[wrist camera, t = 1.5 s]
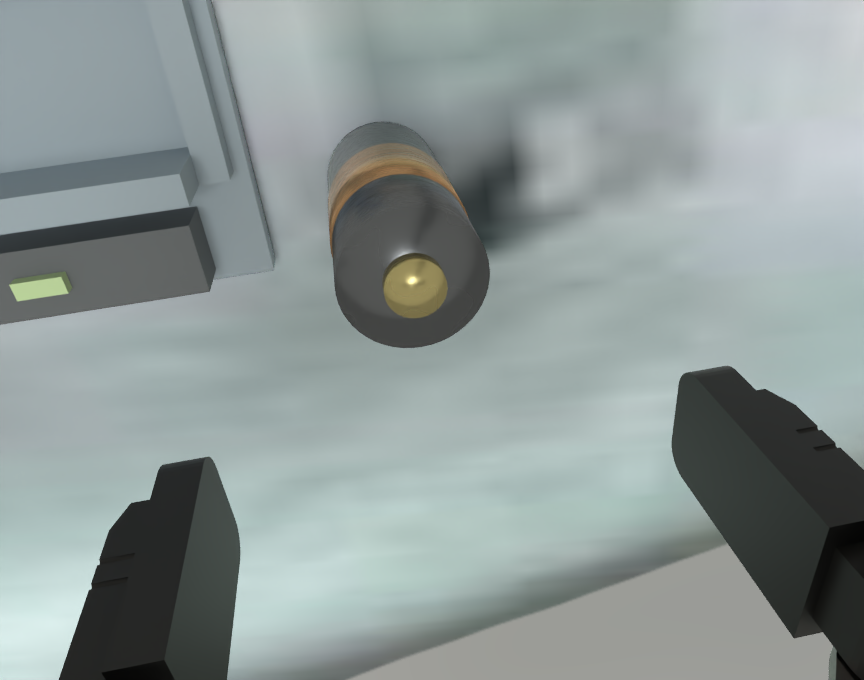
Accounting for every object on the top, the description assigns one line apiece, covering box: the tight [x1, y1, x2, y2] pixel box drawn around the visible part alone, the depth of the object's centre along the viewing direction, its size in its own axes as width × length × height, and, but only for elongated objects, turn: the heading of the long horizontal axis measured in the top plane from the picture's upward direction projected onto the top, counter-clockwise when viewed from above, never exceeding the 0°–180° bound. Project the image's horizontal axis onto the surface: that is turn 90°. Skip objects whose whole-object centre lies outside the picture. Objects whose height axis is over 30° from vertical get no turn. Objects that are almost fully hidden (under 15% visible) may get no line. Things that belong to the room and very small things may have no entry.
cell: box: [328, 122, 490, 348], centre depth 20 cm, size 4×4×9 cm
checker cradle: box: [0, 0, 275, 325], centre depth 20 cm, size 11×12×4 cm
